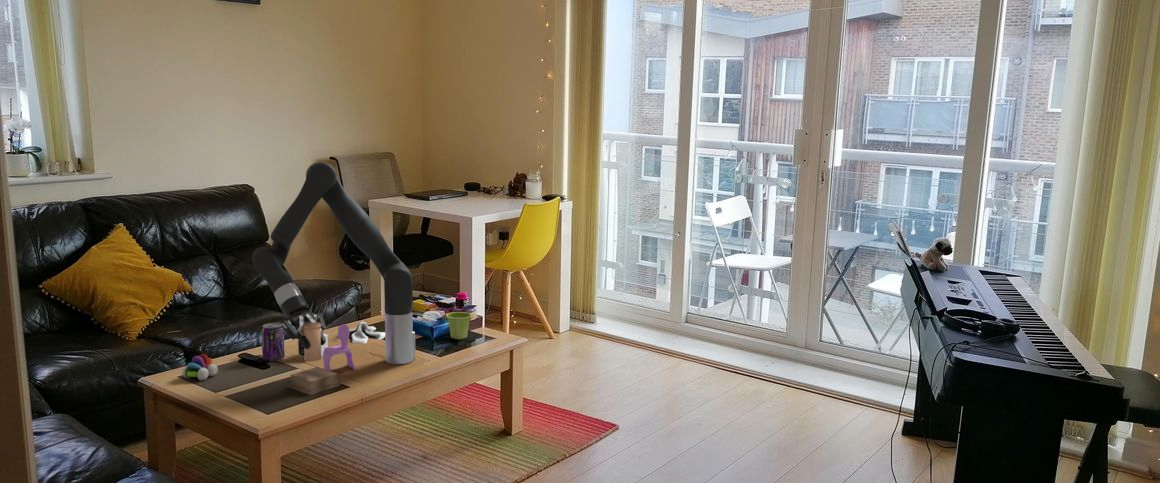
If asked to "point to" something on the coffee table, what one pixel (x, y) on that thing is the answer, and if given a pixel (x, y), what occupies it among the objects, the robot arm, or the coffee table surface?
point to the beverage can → (273, 341)
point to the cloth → (364, 333)
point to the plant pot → (458, 324)
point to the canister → (313, 341)
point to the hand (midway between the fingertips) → (316, 345)
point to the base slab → (314, 380)
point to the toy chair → (339, 348)
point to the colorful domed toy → (200, 368)
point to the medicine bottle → (301, 348)
